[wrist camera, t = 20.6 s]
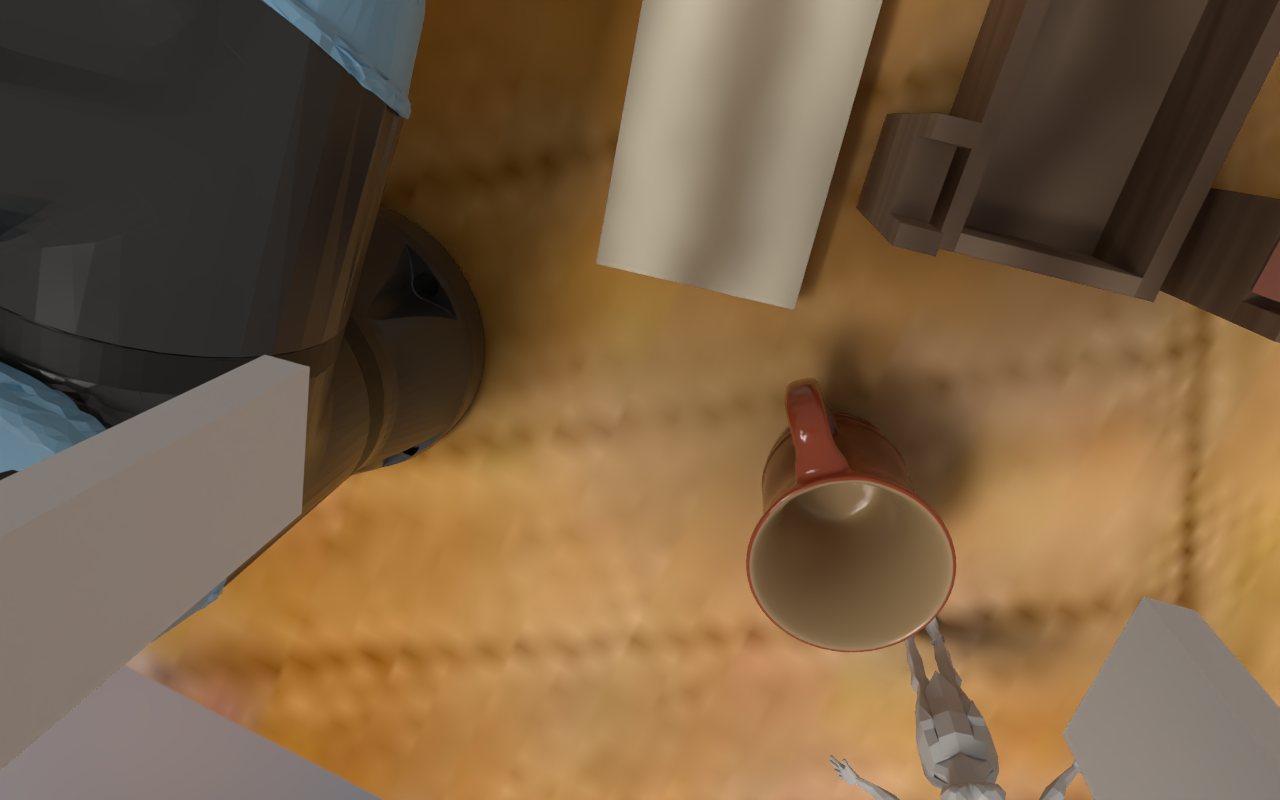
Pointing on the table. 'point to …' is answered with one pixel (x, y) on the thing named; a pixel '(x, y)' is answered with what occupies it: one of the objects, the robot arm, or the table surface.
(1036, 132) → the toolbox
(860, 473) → the mug
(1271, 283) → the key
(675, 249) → the lid
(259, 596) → the table surface
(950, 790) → the human figurine
